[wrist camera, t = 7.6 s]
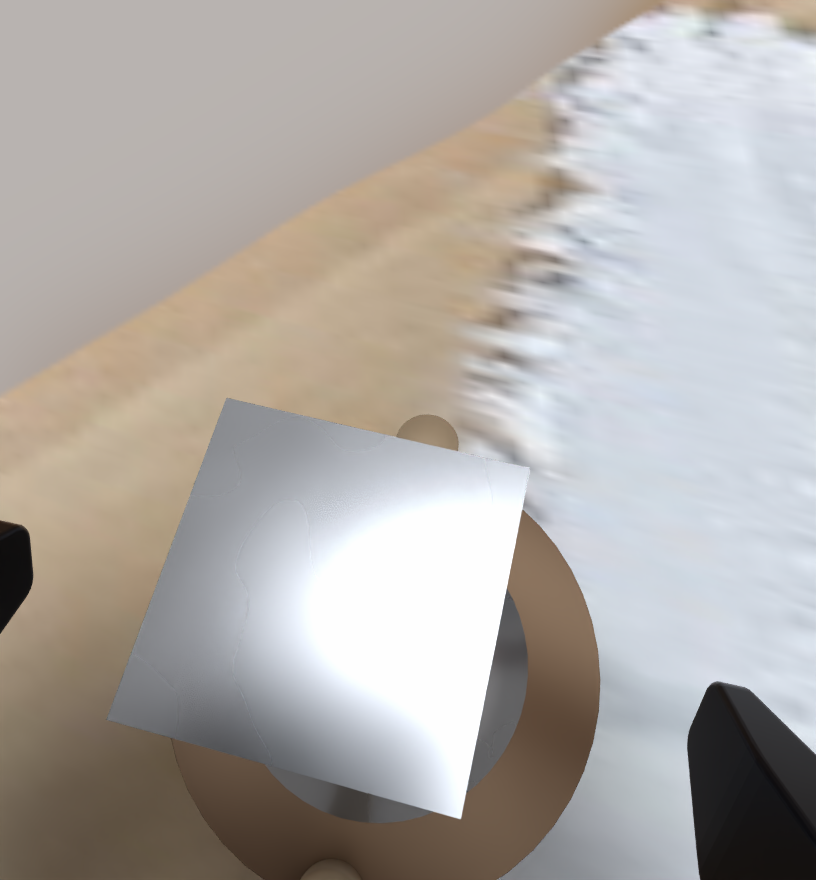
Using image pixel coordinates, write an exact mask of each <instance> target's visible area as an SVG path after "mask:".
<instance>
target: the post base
mask: <svg viewBox="0 0 816 880" xmlns="http://www.w3.org/2000/svg"><path fill="white" fill-rule="evenodd" d="M397 437H398V438H402V439H406V440H411V441H415V442H419V443H424V444H428V445H432V446H437V447H441V448H445V449H450V450H454V451H458V437H457V434H456V432H455V430H454V428H453V427H452V426H451V425H450V424H449V423H448V422H447V421H446V420H444V419H442V418H440V417H438V416H434V415H419V416H416V417H413V418H411V419H410V420H408V421H407V422H406V423H404V424H403V426H402V427H401V428H400V430H399V432H398V434H397ZM507 589H508V591H509V593H510V595H511V596H512V598H513V601H514V603H515V606H516V608H517V610H518V613H519V615H520V619H521V622H522V626H523V630H524V634H525V639H526V647H527V654H528V679H527V687H526V696H525V700H524V704H523V708H522V712H521V716H520V719H519V721H518V724H517V726H516V729H515V732H514V734H513V736H512V738H511V740H510V742H509V744H508V745H507V747H506V749H505V751H504V753H503V754H502V756H501V757H500V758H499V760H498V761H497V762H496V764H495V765H494V767H493V768H492V769H491V771H490V772H489V773H488V774H487V775H486V776H485V777H484V778H483V779H482V780H481V781H480V782H479V783H478V784H477V785H476V786H475V787H473V788H472V789H471V790H470V791H468V792H467V793H466V795H465V800H464V805H463V810H462V816H461V819H458V818H454V817H451V816H447V815H444V814H440V813H437V812H432V813H430V814H427V815H425V816H423V817H418V818H414V819H410V820H406V821H402V822H391V823H367V822H358V821H353V820H348V819H343V818H339V817H337V816H334V815H331V814H328V813H326V812H323V811H321V810H319V809H317V808H315V807H313V806H311V805H310V804H308V803H306V802H304V801H302V800H301V799H300V798H298V797H297V796H296V795H294V794H293V793H292V792H290V791H289V790H288V789H286V788H285V787H284V786H283V785H282V784H281V783H280V782H279V781H278V780H277V779H276V778H275V777H274V776H273V775H272V773H271V772H270V771H269V769H268V768H267V767H266V765H265V764H262V763H259V762H255V761H251V760H248V759H244V758H241V757H237V756H234V755H230V754H227V753H223V752H219V751H216V750H212V749H209V748H205V747H202V746H198V745H195V744H191V743H187V742H184V741H180V740H177V739H173V738H171V740H172V744H173V748H174V752H175V756H176V760H177V763H178V766H179V768H180V771H181V773H182V776H183V778H184V781H185V783H186V786H187V789H188V791H189V793H190V795H191V796H192V798H193V800H194V802H195V804H196V805H197V807H198V809H199V811H200V813H201V814H202V816H203V818H204V819H205V821H206V822H207V823H208V825H209V826H210V827H211V829H212V830H213V831H214V832H215V834H216V835H217V836H218V838H219V839H220V840H221V842H222V843H223V844H224V845H225V846H226V847H227V848H228V849H229V850H230V851H231V852H232V853H233V854H234V855H235V856H236V857H237V858H238V859H239V860H240V861H241V862H242V863H243V864H244V865H245V866H247V867H248V868H249V869H251V870H252V871H253V872H255V873H256V874H258V875H259V876H260V877H262V878H263V879H264V880H497V879H498V878H500V877H501V876H503V875H504V874H506V873H508V872H509V871H510V870H511V869H512V868H514V867H515V866H516V865H517V864H518V863H519V862H520V861H521V860H523V859H524V858H525V857H526V856H527V855H528V854H529V853H531V852H532V851H533V850H534V848H535V847H536V846H537V845H538V844H539V843H540V841H541V840H542V839H543V838H544V837H545V836H546V834H547V833H548V832H549V831H550V830H551V829H552V827H553V826H554V825H555V823H556V822H557V820H558V818H559V817H560V815H561V814H562V812H563V811H564V809H565V808H566V806H567V804H568V803H569V801H570V800H571V798H572V796H573V793H574V791H575V789H576V787H577V785H578V783H579V781H580V778H581V776H582V774H583V772H584V769H585V766H586V763H587V760H588V757H589V753H590V750H591V747H592V744H593V740H594V734H595V729H596V723H597V718H598V712H599V695H600V671H599V658H598V648H597V643H596V639H595V634H594V629H593V624H592V620H591V617H590V614H589V611H588V608H587V605H586V602H585V599H584V596H583V594H582V591H581V589H580V587H579V585H578V583H577V581H576V579H575V577H574V575H573V573H572V570H571V569H570V567H569V565H568V564H567V562H566V561H565V559H564V558H563V556H562V554H561V553H560V551H559V550H558V548H557V547H556V545H555V544H554V543H553V542H552V540H551V539H550V538H549V537H548V536H547V534H546V533H545V532H544V531H543V529H542V528H541V527H540V526H539V525H538V524H537V523H536V522H535V521H534V520H533V519H532V518H531V517H530V516H529V515H528V514H527V513H526V512H525V511H524V510H522V512H521V517H520V522H519V527H518V533H517V538H516V543H515V548H514V553H513V558H512V563H511V568H510V573H509V578H508V583H507Z"/></svg>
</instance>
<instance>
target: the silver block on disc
mask: <svg viewBox="0 0 816 880" xmlns="http://www.w3.org/2000/svg"><path fill="white" fill-rule="evenodd" d="M529 472H530V468H528V467H523V466H519V465H515V464H510V463H506V462H502V461H497V460H493V459H489V458H484V457H480V456H476V455H471V454H467V453H463V452H458V451H454V450H450V449H445V448H441V447H437V446H432V445H428V444H424V443H419V442H415V441H411V440H406V439H402V438H398V437H394V436H389V435H385V434H381V433H376V432H372V431H368V430H363V429H359V428H355V427H350V426H346V425H342V424H337V423H333V422H329V421H324V420H320V419H316V418H311V417H307V416H303V415H298V414H294V413H290V412H285V411H281V410H277V409H272V408H268V407H264V406H259V405H255V404H251V403H246V402H242V401H238V400H233V399H229V398H226V401H225V403H224V406H223V409H222V411H221V414H220V417H219V419H218V422H217V425H216V427H215V430H214V433H213V435H212V438H211V441H210V444H209V446H208V449H207V452H206V454H205V457H204V460H203V462H202V465H201V468H200V470H199V473H198V476H197V478H196V481H195V484H194V486H193V489H192V492H191V494H190V497H189V500H188V502H187V505H186V508H185V510H184V513H183V516H182V518H181V521H180V524H179V527H178V529H177V532H176V535H175V537H174V540H173V543H172V545H171V548H170V551H169V553H168V556H167V559H166V561H165V564H164V567H163V569H162V572H161V575H160V577H159V580H158V583H157V585H156V588H155V591H154V593H153V596H152V599H151V601H150V604H149V607H148V610H147V612H146V615H145V618H144V620H143V623H142V626H141V628H140V631H139V634H138V636H137V639H136V642H135V644H134V647H133V650H132V652H131V655H130V658H129V660H128V663H127V666H126V668H125V671H124V674H123V676H122V679H121V682H120V685H119V687H118V690H117V693H116V695H115V698H114V701H113V703H112V706H111V709H110V711H109V714H108V717H107V719H106V720H109V721H113V722H116V723H120V724H123V725H127V726H130V727H134V728H138V729H141V730H145V731H148V732H152V733H155V734H159V735H162V736H166V737H170V738H173V739H177V740H180V741H184V742H187V743H191V744H195V745H198V746H202V747H205V748H209V749H212V750H216V751H219V752H223V753H227V754H230V755H234V756H237V757H241V758H244V759H248V760H251V761H255V762H259V763H262V764H265V765H266V767H267V768H268V769H269V771H270V772H271V773H272V775H273V776H274V777H275V778H276V779H277V780H278V781H279V782H280V783H281V784H282V785H283V786H284V787H285V788H286V789H288V790H289V791H290V792H292V793H293V794H294V795H296V796H297V797H298V798H300V799H301V800H302V801H304V802H306V803H308V804H310V805H311V806H313V807H315V808H317V809H319V810H321V811H323V812H326V813H328V814H331V815H334V816H337V817H339V818H343V819H348V820H353V821H358V822H367V823H391V822H402V821H406V820H410V819H414V818H418V817H423V816H425V815H427V814H430V813H432V812H437V813H440V814H444V815H447V816H451V817H454V818H458V819H461V816H462V810H463V805H464V800H465V795H466V793H467V792H468V791H470V790H471V789H472V788H473V787H475V786H476V785H477V784H478V783H479V782H480V781H481V780H482V779H483V778H484V777H485V776H486V775H487V774H488V773H489V772H490V771H491V769H492V768H493V767H494V765H495V764H496V762H497V761H498V760H499V758H500V757H501V756H502V754H503V753H504V751H505V749H506V747H507V745H508V744H509V742H510V740H511V738H512V736H513V734H514V732H515V729H516V726H517V724H518V721H519V719H520V716H521V712H522V708H523V704H524V700H525V696H526V687H527V679H528V654H527V647H526V639H525V634H524V630H523V626H522V622H521V619H520V615H519V613H518V610H517V608H516V606H515V603H514V601H513V598H512V596H511V595H510V593H509V591H508V589H507V583H508V578H509V573H510V568H511V563H512V558H513V553H514V548H515V543H516V538H517V533H518V527H519V522H520V517H521V512H522V507H523V502H524V497H525V492H526V487H527V482H528V477H529Z"/></svg>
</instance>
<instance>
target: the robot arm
mask: <svg viewBox="0 0 816 880" xmlns="http://www.w3.org/2000/svg"><path fill="white" fill-rule="evenodd" d="M32 582H33V567H32V556H31V544H30V535H29V532H28V530H27V529H26V528H25V527H24V526H22V525H19V524H14V523H10V522H5V521H1V520H0V634H1V632H2V631H3V629H4V628H5V626H6V625H7V624H8V622H9V621H10V619H11V618H12V616H13V615H14V614H15V612H16V611H17V609H18V608H19V607H20V605H21V604H22V602H23V601H24V599H25V598H26V597H27V595H28V593H29V591H30V589H31V586H32ZM687 750H688V761H689V772H690V783H691V795H692V806H693V817H694V828H695V839H696V850H697V859H698V868H699V875H700V880H816V754H815V753H814V752H813V751H812V750H811V749H810V748H809V747H808V746H807V745H806V744H805V743H803V742H802V741H801V740H800V739H799V738H798V737H797V736H796V735H795V734H794V733H793V732H792V731H791V730H790V729H789V728H788V727H787V726H786V725H785V724H784V723H783V722H782V721H781V720H780V719H779V718H778V717H777V716H776V715H775V714H774V713H773V712H772V711H771V710H770V709H769V708H768V707H767V706H766V705H765V704H764V703H763V702H762V701H761V700H760V699H759V698H758V697H757V696H756V695H755V694H754V693H752V692H751V691H750V690H749V689H747V688H745V687H741V686H737V685H732V684H728V683H723V682H714V683H712V684H711V685H710V686H709V687H708V688H707V690H706V692H705V695H704V697H703V699H702V702H701V704H700V706H699V709H698V711H697V713H696V716H695V718H694V720H693V723H692V725H691V727H690V730H689V734H688V742H687Z"/></svg>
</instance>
